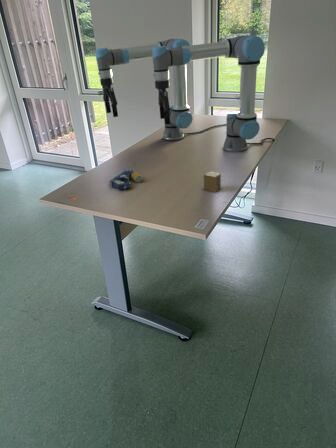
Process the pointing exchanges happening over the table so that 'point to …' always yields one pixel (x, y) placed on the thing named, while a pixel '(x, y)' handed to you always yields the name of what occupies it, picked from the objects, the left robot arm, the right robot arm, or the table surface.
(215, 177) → the block
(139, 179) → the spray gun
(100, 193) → the table surface
